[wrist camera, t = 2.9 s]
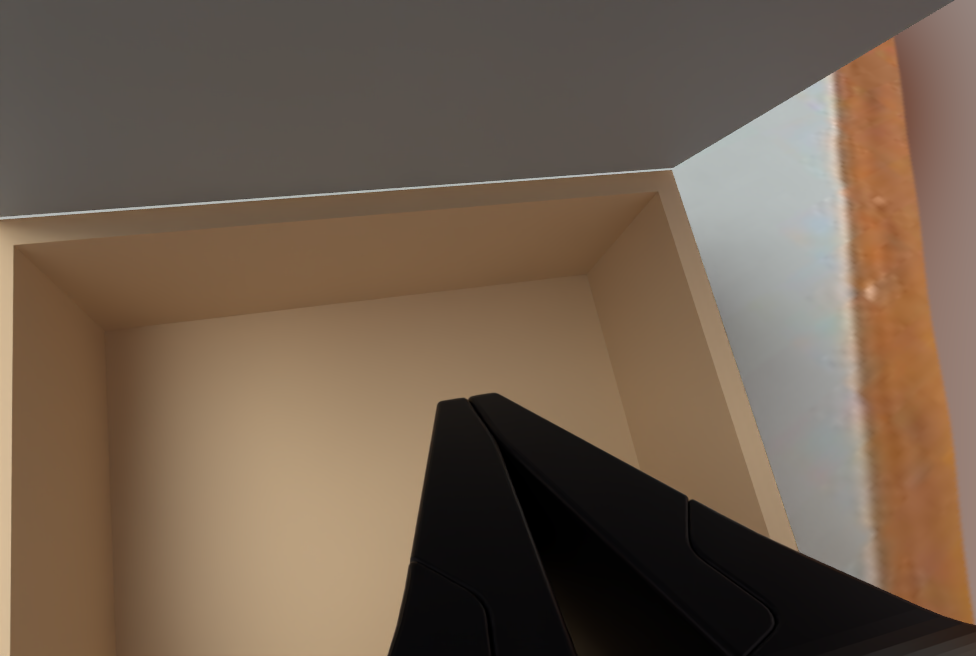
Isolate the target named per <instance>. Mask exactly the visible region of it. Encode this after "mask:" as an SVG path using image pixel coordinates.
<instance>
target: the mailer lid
mask: <svg viewBox="0 0 976 656" xmlns="http://www.w3.org/2000/svg"><path fill="white" fill-rule="evenodd" d="M952 1H954V0H0V217H5V216H18V215H32V214H46V213H59V212H73V211H87V210H100V209H114V208H128V207H142V206H155V205H169V204H183V203H196V202H210V201H224V200H237V199H251V198H265V197H279V196H292V195H306V194H320V193H333V192H347V191H361V190H375V189H388V188H402V187H416V186H429V185H443V184H457V183H470V182H484V181H498V180H512V179H525V178H539V177H553V176H566V175H580V174H594V173H607V172H621V171H635V170H649V169H662V168H674V167H675V166H677V165H679V164H680V163H682V162H684V161H685V160H687V159H689V158H690V157H692V156H694V155H695V154H697V153H699V152H700V151H702V150H704V149H705V148H707V147H709V146H710V145H712V144H714V143H716V142H717V141H719V140H721V139H722V138H724V137H726V136H727V135H729V134H731V133H732V132H734V131H736V130H737V129H739V128H741V127H742V126H744V125H746V124H747V123H749V122H751V121H752V120H754V119H756V118H758V117H759V116H761V115H763V114H764V113H766V112H768V111H769V110H771V109H773V108H774V107H776V106H778V105H779V104H781V103H783V102H784V101H786V100H788V99H789V98H791V97H793V96H794V95H796V94H798V93H800V92H801V91H803V90H805V89H806V88H808V87H810V86H811V85H813V84H815V83H816V82H818V81H820V80H821V79H823V78H825V77H826V76H828V75H830V74H831V73H833V72H835V71H836V70H838V69H840V68H841V67H843V66H845V65H847V64H848V63H850V62H852V61H853V60H855V59H857V58H858V57H860V56H862V55H863V54H865V53H867V52H868V51H870V50H872V49H873V48H875V47H877V46H878V45H880V44H882V43H883V42H885V41H887V40H889V39H890V38H892V37H894V36H895V35H897V34H898V33H900V32H902V31H903V30H905V29H907V28H909V27H910V26H912V25H914V24H915V23H917V22H919V21H920V20H922V19H924V18H925V17H927V16H929V15H930V14H932V13H934V12H935V11H937V10H939V9H941V8H942V7H944V6H946V5H947V4H949V3H951V2H952Z"/></svg>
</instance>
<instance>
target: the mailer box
mask: <svg viewBox="0 0 976 656" xmlns="http://www.w3.org/2000/svg"><path fill="white" fill-rule="evenodd" d="M492 392H494V393H498V394H500V395H502V396H504V397H506V398H508V399H510V400H511V401H513V402H515V403H517V404H519V405H521V406H522V407H524V408H526V409H528V410H530V411H532V412H534V413H535V414H537V415H539V416H541V417H543V418H545V419H546V420H548V421H550V422H552V423H554V424H556V425H558V426H559V427H561V428H563V429H565V430H567V431H569V432H570V433H572V434H574V435H576V436H578V437H580V438H582V439H583V440H585V441H587V442H589V443H591V444H593V445H594V446H596V447H598V448H600V449H602V450H604V451H605V452H607V453H609V454H611V455H613V456H615V457H617V458H618V459H620V460H622V461H624V462H626V463H628V464H629V465H631V466H633V467H635V468H637V469H639V470H641V471H642V472H644V473H646V474H648V475H650V476H652V477H653V478H655V479H657V480H659V481H661V482H663V483H664V484H666V485H668V486H670V487H672V488H674V489H676V490H677V491H679V492H681V493H683V494H685V495H687V497H688V500H690V499H694V500H696V501H698V502H700V503H702V504H704V505H705V506H707V507H709V508H711V509H713V510H715V511H717V512H718V513H720V514H722V515H724V516H726V517H728V518H730V519H732V520H734V521H736V522H738V523H740V524H742V525H744V526H746V527H747V528H749V529H751V530H753V531H755V532H757V533H759V534H761V535H763V536H766V537H768V538H770V539H772V540H774V541H776V542H778V543H781V544H783V545H785V546H787V547H789V548H791V549H793V550H795V551H798V552H799V550H798V547H797V544H796V541H795V538H794V535H793V532H792V529H791V526H790V523H789V520H788V517H787V514H786V511H785V508H784V505H783V502H782V499H781V496H780V493H779V490H778V487H777V484H776V481H775V478H774V475H773V472H772V469H771V466H770V463H769V460H768V457H767V454H766V451H765V448H764V445H763V442H762V439H761V436H760V434H759V431H758V428H757V425H756V422H755V419H754V416H753V413H752V410H751V407H750V404H749V401H748V398H747V395H746V392H745V389H744V386H743V383H742V380H741V377H740V374H739V371H738V368H737V365H736V362H735V359H734V356H733V353H732V350H731V347H730V344H729V341H728V338H727V335H726V332H725V329H724V326H723V323H722V320H721V317H720V314H719V311H718V308H717V305H716V302H715V299H714V296H713V293H712V290H711V287H710V284H709V281H708V278H707V275H706V272H705V269H704V266H703V263H702V260H701V257H700V254H699V251H698V248H697V245H696V242H695V239H694V236H693V233H692V230H691V227H690V224H689V221H688V218H687V215H686V212H685V209H684V206H683V203H682V200H681V197H680V194H679V191H678V188H677V185H676V182H675V179H674V176H673V173H672V170H666V171H653V172H639V173H626V174H612V175H599V176H585V177H572V178H558V179H545V180H531V181H518V182H504V183H491V184H477V185H464V186H450V187H437V188H423V189H410V190H396V191H383V192H369V193H356V194H342V195H329V196H315V197H302V198H288V199H275V200H261V201H248V202H234V203H221V204H207V205H194V206H180V207H167V208H153V209H140V210H126V211H113V212H99V213H86V214H72V215H59V216H45V217H32V218H18V219H4V220H0V656H387V655H388V652H389V648H390V645H391V642H392V638H393V635H394V632H395V628H396V625H397V620H398V616H399V611H400V607H401V602H402V598H403V593H404V589H405V583H406V577H407V571H408V566H409V564H410V557H411V551H412V545H413V539H414V534H415V528H416V522H417V516H418V511H419V505H420V499H421V493H422V488H423V482H424V476H425V470H426V465H427V459H428V453H429V447H430V442H431V436H432V430H433V424H434V419H435V413H436V407H437V404H438V402H440V401H443V400H449V399H456V398H466V399H467V400H468V398H469V397H471V396H474V395H480V394H486V393H492Z"/></svg>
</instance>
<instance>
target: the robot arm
mask: <svg viewBox="0 0 976 656" xmlns="http://www.w3.org/2000/svg"><path fill="white" fill-rule="evenodd" d="M387 656H976V625H973V624H968V623H964V622H961V621H958V620H954V619H951V618H948V617H945V616H942V615H940V614H937V613H935V612H932V611H930V610H927V609H925V608H922V607H920V606H918V605H916V604H913V603H911V602H909V601H907V600H904V599H902V598H900V597H898V596H895V595H893V594H891V593H889V592H887V591H884V590H882V589H880V588H878V587H875V586H873V585H871V584H869V583H866V582H864V581H862V580H860V579H857V578H855V577H853V576H851V575H849V574H846V573H844V572H842V571H840V570H837V569H835V568H833V567H831V566H828V565H826V564H824V563H822V562H820V561H817V560H815V559H813V558H811V557H808V556H806V555H804V554H802V553H800V552H798V551H795V550H793V549H791V548H789V547H787V546H785V545H783V544H781V543H778V542H776V541H774V540H772V539H770V538H768V537H766V536H763V535H761V534H759V533H757V532H755V531H753V530H751V529H749V528H747V527H746V526H744V525H742V524H740V523H738V522H736V521H734V520H732V519H730V518H728V517H726V516H724V515H722V514H720V513H718V512H717V511H715V510H713V509H711V508H709V507H707V506H705V505H704V504H702V503H700V502H698V501H696V500H694V499H690V500H688V497H687V495H685V494H683V493H681V492H679V491H677V490H676V489H674V488H672V487H670V486H668V485H666V484H664V483H663V482H661V481H659V480H657V479H655V478H653V477H652V476H650V475H648V474H646V473H644V472H642V471H641V470H639V469H637V468H635V467H633V466H631V465H629V464H628V463H626V462H624V461H622V460H620V459H618V458H617V457H615V456H613V455H611V454H609V453H607V452H605V451H604V450H602V449H600V448H598V447H596V446H594V445H593V444H591V443H589V442H587V441H585V440H583V439H582V438H580V437H578V436H576V435H574V434H572V433H570V432H569V431H567V430H565V429H563V428H561V427H559V426H558V425H556V424H554V423H552V422H550V421H548V420H546V419H545V418H543V417H541V416H539V415H537V414H535V413H534V412H532V411H530V410H528V409H526V408H524V407H522V406H521V405H519V404H517V403H515V402H513V401H511V400H510V399H508V398H506V397H504V396H502V395H500V394H498V393H494V392H492V393H486V394H480V395H474V396H471V397H469V398H468V400H467V399H466V398H456V399H449V400H443V401H440V402H438V404H437V407H436V413H435V419H434V424H433V430H432V436H431V442H430V447H429V453H428V459H427V465H426V470H425V476H424V482H423V488H422V493H421V499H420V505H419V511H418V516H417V522H416V528H415V534H414V539H413V545H412V551H411V557H410V564H409V566H408V571H407V577H406V583H405V589H404V593H403V598H402V602H401V607H400V611H399V616H398V620H397V625H396V628H395V632H394V635H393V638H392V642H391V645H390V648H389V652H388V655H387Z"/></svg>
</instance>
